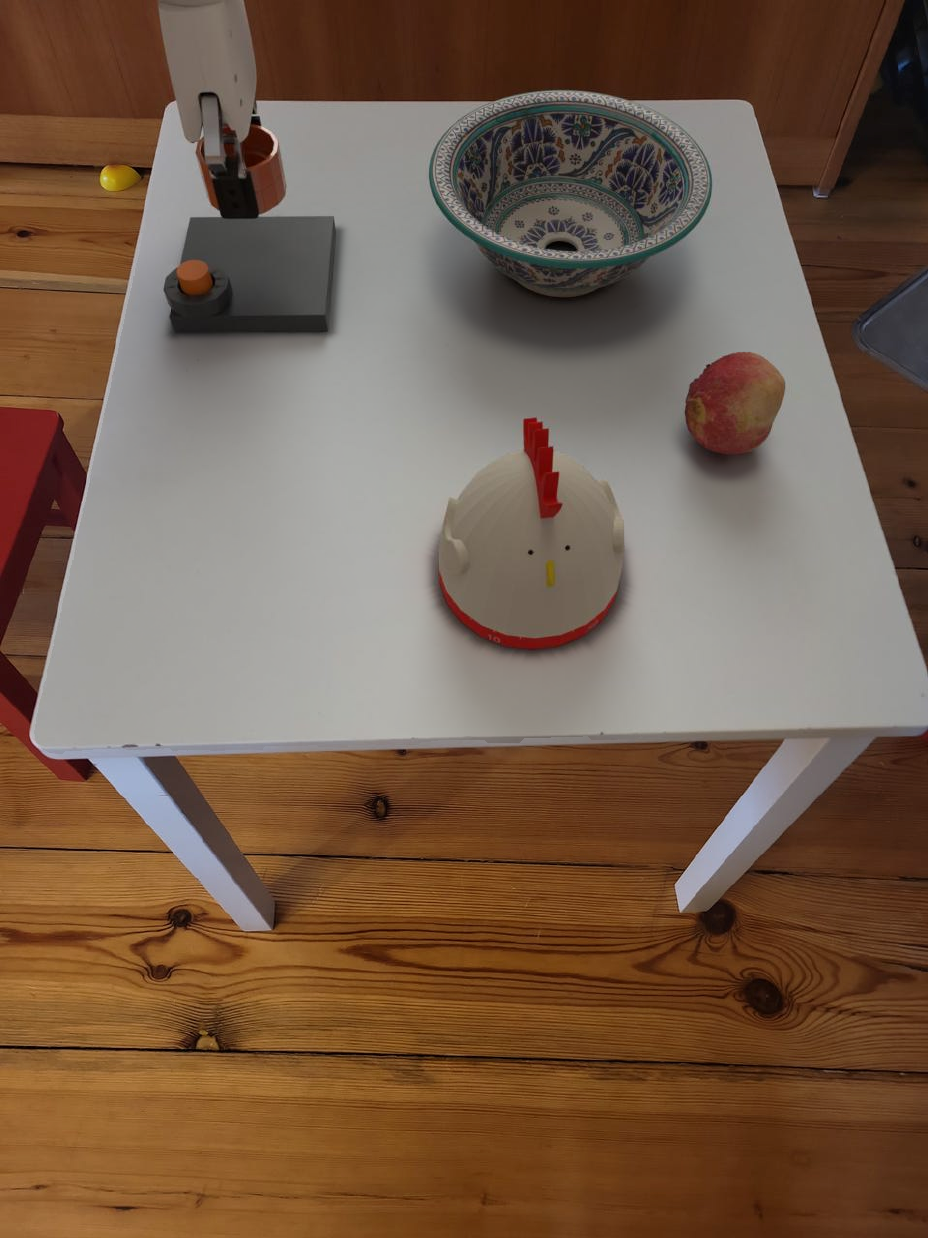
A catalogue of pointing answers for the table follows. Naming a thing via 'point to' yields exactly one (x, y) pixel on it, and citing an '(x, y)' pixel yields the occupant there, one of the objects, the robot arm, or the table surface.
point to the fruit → (734, 403)
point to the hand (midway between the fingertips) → (245, 186)
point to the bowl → (569, 186)
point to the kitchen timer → (532, 548)
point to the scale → (257, 275)
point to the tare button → (194, 278)
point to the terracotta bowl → (253, 166)
